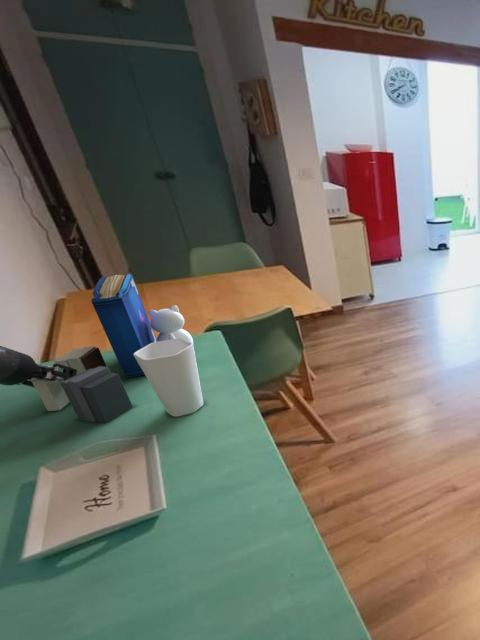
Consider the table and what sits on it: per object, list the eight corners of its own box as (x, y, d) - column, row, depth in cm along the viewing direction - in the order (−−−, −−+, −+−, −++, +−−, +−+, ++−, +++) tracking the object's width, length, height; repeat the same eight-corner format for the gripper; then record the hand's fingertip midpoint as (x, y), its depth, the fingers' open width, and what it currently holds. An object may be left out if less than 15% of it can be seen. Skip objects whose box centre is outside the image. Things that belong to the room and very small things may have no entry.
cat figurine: (193, 342, 138) (178, 300, 132) (199, 356, 130) (184, 312, 123) (158, 350, 133) (142, 306, 126) (163, 365, 124) (145, 319, 118)
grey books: (77, 419, 100) (57, 380, 96) (108, 403, 107) (90, 365, 102) (105, 423, 99) (85, 383, 95) (134, 406, 106) (117, 368, 101)
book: (155, 375, 119) (122, 292, 108) (122, 382, 116) (85, 297, 105) (159, 346, 135) (131, 271, 124) (131, 351, 132) (99, 275, 121)
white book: (47, 411, 103) (31, 380, 99) (67, 395, 109) (52, 366, 105) (60, 410, 104) (44, 379, 100) (79, 394, 110) (64, 365, 106)
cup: (155, 425, 99) (129, 363, 92) (161, 403, 107) (137, 344, 100) (211, 412, 105) (190, 352, 97) (213, 392, 112) (194, 335, 105)
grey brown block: (68, 390, 111) (53, 359, 107) (85, 376, 118) (72, 347, 114) (96, 387, 113) (82, 357, 109) (112, 374, 119) (99, 346, 115)
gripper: (40, 345, 93) (94, 365, 108) (-41, 350, 90) (26, 370, 105) (33, 377, 91) (89, 393, 106) (-51, 384, 87) (19, 399, 103)
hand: (58, 381), depth 105 cm, fingers open, 8 cm apart
